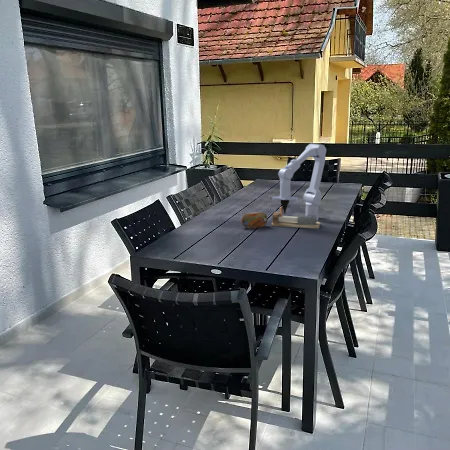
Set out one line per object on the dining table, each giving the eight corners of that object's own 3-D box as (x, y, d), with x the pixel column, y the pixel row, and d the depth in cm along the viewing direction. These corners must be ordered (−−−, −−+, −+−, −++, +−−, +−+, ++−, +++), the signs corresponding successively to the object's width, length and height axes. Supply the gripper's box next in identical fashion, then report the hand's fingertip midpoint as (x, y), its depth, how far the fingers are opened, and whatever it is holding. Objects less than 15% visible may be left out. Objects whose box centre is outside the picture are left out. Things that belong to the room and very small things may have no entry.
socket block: (274, 220, 271) (274, 211, 269) (279, 220, 270) (279, 212, 268) (272, 223, 264) (272, 214, 263) (277, 223, 263) (277, 215, 262)
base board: (273, 221, 272) (273, 219, 272) (319, 223, 266) (319, 222, 266) (271, 225, 263) (271, 224, 263) (318, 228, 256) (318, 226, 256)
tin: (242, 229, 258) (242, 214, 256) (240, 227, 261) (240, 213, 259) (267, 226, 262) (267, 212, 260) (265, 225, 265) (266, 211, 263)
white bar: (276, 219, 268) (276, 206, 266) (304, 221, 264) (304, 207, 262) (275, 221, 265) (275, 207, 263) (303, 222, 261) (304, 208, 259)
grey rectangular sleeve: (298, 222, 266) (298, 214, 265) (316, 223, 264) (316, 215, 263) (297, 224, 261) (297, 216, 260) (315, 225, 259) (315, 217, 258)
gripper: (271, 190, 259) (271, 214, 262) (297, 191, 255) (296, 215, 259) (273, 188, 265) (273, 211, 269) (298, 189, 262) (298, 212, 265)
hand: (284, 213), depth 264 cm, fingers closed
